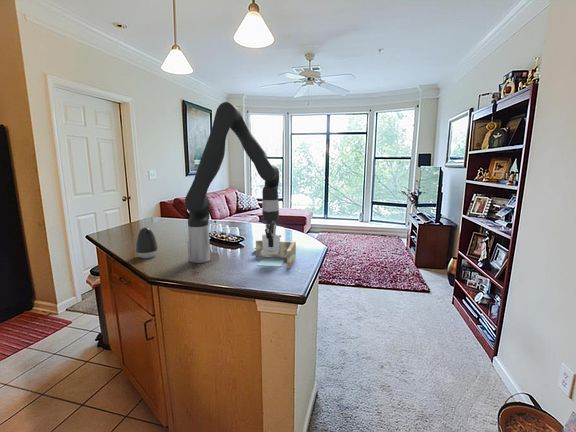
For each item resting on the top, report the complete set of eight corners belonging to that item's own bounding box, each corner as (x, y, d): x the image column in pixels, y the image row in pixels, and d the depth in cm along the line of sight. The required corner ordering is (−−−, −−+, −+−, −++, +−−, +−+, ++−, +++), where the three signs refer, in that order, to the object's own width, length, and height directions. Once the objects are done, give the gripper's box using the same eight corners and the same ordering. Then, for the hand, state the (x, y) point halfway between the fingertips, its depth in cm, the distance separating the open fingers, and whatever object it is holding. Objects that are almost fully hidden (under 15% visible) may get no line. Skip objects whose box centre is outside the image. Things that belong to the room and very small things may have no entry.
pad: (257, 265, 132) (257, 265, 132) (262, 259, 141) (262, 259, 141) (281, 266, 130) (281, 266, 130) (284, 260, 139) (284, 260, 139)
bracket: (280, 251, 135) (279, 234, 133) (278, 254, 130) (277, 237, 129) (263, 251, 136) (263, 234, 135) (260, 254, 131) (260, 236, 130)
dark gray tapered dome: (141, 261, 139) (138, 230, 137) (133, 257, 146) (130, 227, 143) (162, 256, 146) (159, 227, 144) (153, 252, 153) (151, 224, 151)
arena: (246, 266, 131) (246, 249, 130) (256, 255, 148) (256, 240, 146) (290, 268, 128) (290, 251, 127) (295, 257, 144) (295, 241, 143)
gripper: (266, 207, 139) (266, 242, 142) (258, 211, 126) (259, 250, 128) (281, 207, 138) (281, 243, 140) (275, 211, 124) (276, 250, 127)
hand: (271, 246), depth 134 cm, fingers closed on bracket, 1 cm apart
